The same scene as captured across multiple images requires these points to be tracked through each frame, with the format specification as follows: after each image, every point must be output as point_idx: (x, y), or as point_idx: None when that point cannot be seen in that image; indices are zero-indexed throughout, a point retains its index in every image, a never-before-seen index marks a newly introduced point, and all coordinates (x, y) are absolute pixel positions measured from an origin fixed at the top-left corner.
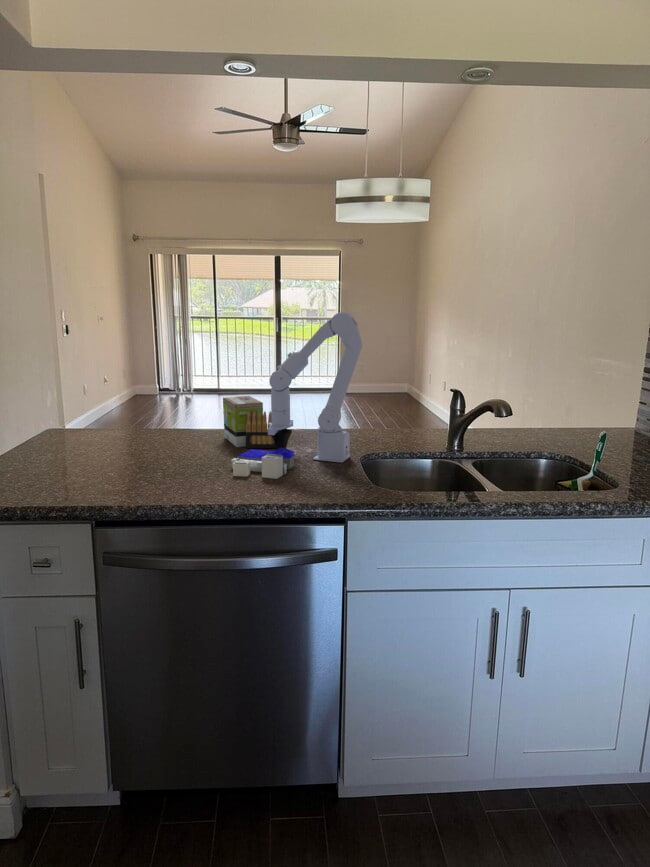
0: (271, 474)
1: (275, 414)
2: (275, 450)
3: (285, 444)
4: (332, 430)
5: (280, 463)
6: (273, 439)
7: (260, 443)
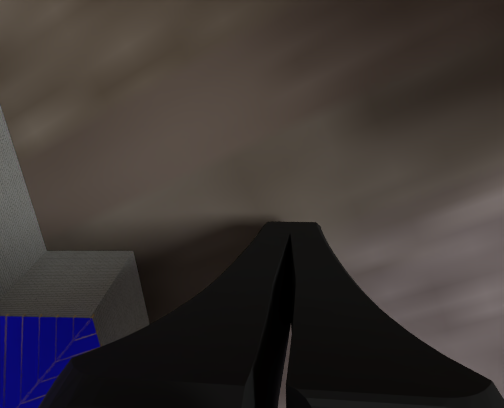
0: None
1: None
2: (49, 327)
3: (278, 393)
4: None
5: None
6: (165, 322)
7: None
